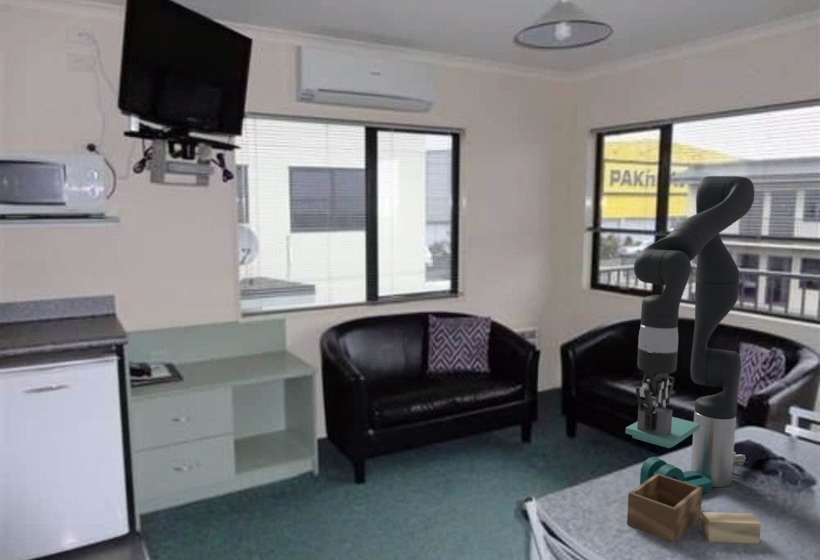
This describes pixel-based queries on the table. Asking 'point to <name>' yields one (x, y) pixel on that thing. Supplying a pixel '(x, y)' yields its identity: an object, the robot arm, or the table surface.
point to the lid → (662, 429)
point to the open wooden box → (664, 506)
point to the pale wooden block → (730, 527)
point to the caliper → (737, 461)
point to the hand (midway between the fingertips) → (653, 427)
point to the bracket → (673, 473)
